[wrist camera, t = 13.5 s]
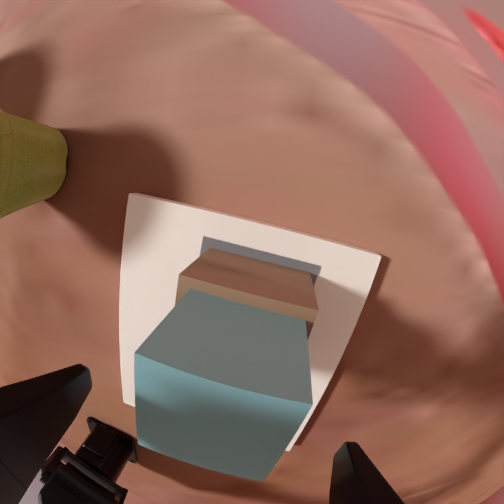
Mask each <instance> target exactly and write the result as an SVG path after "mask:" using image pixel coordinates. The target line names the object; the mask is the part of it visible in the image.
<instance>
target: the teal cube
mask: <svg viewBox="0 0 504 504" xmlns="http://www.w3.org/2000/svg"><path fill="white" fill-rule="evenodd" d="M134 386H135V411H136V426H137V438H138V444H139V445H141V446H143V447H146V448H148V449H150V450H153V451H155V452H158V453H160V454H163V455H166V456H168V457H171V458H174V459H177V460H180V461H183V462H186V463H189V464H192V465H195V466H199V467H202V468H205V469H209V470H213V471H216V472H220V473H224V474H228V475H233V476H237V477H242V478H247V479H252V480H257V481H264V480H265V478H266V477H267V476H268V474H269V473H270V471H271V470H272V469H273V467H274V466H275V464H276V463H277V461H278V460H279V459H280V457H281V456H282V454H283V453H284V451H285V450H286V448H287V446H288V445H289V443H290V442H291V440H292V439H293V437H294V435H295V434H296V432H297V431H298V429H299V427H300V426H301V424H302V422H303V421H304V419H305V417H306V416H307V414H308V412H309V410H310V409H311V407H312V405H313V399H312V385H311V373H310V361H309V350H308V340H307V330H306V321H305V320H302V319H298V318H294V317H290V316H287V315H283V314H279V313H275V312H271V311H267V310H264V309H260V308H256V307H253V306H249V305H245V304H242V303H238V302H235V301H231V300H228V299H224V298H221V297H217V296H214V295H211V294H207V293H204V292H201V291H197V290H194V289H191V288H190V290H189V291H188V292H187V293H186V294H185V295H184V296H183V297H182V299H181V300H180V301H179V302H178V303H177V304H176V305H175V307H174V308H173V309H172V310H171V311H170V312H169V313H168V314H167V316H166V317H165V318H164V319H163V320H162V321H161V322H160V324H159V325H158V326H157V327H156V328H155V329H154V330H153V332H152V333H151V334H150V335H149V336H148V337H147V339H146V340H145V341H144V342H143V343H142V344H141V345H140V347H139V348H138V349H137V350H136V351H135V352H134Z"/></svg>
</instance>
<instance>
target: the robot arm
mask: <svg viewBox="0 0 504 504" xmlns="http://www.w3.org/2000/svg"><path fill="white" fill-rule="evenodd" d="M91 388H92V380H91V374H90V370H89V368H88V367H86V366H84V365H82V364H76V365H73V366H70V367H67V368H64V369H61V370H58V371H54V372H51V373H48V374H45V375H41V376H38V377H35V378H31V379H28V380H24V381H21V382H17V383H14V384H10V385H7V386H3V387H1V388H0V504H19V502H20V500H21V499H22V497H23V496H24V494H25V492H26V491H27V489H28V487H29V486H30V484H31V483H32V481H33V479H34V478H35V476H36V475H37V473H38V472H39V470H40V469H41V472H42V474H41V476H42V477H41V479H40V481H41V482H42V483H43V484H45V485H44V486H43V488H42V489H41V491H40V493H39V495H38V499H39V504H123V503H124V500H125V497H126V495H127V492H128V490H127V489H125V488H122V487H121V486H119V485H117V484H116V481H117V479H118V477H119V475H120V474H121V472H122V470H123V468H124V467H125V465H126V463H127V461H130V462H132V463H136V462H137V457H136V451H135V444H134V440H133V439H132V438H131V437H129V436H127V435H124V434H122V433H120V432H118V431H116V430H114V429H112V428H110V427H108V426H106V425H104V424H102V423H100V422H98V421H96V420H95V419H93V418H91V417H88V418H87V422H88V426H89V429H90V432H91V433H90V434H89V435H88V437H87V438H86V439H85V441H84V442H83V443H82V445H81V446H80V447H79V449H78V450H77V452H76V453H75V454H73V453H72V452H71V451H69V449H68V448H67V447H64V448H62V447H60V446H58V447H57V449H56V450H55V451H54V452H53V454H52V455H51V456H50V457H49V455H50V454H51V452H52V451H53V449H54V448H55V447H56V445H57V444H58V442H59V441H60V439H61V438H62V436H63V435H64V434H65V432H66V431H67V429H68V428H69V426H70V425H71V424H72V422H73V421H74V419H75V418H76V416H77V414H78V412H79V410H80V408H81V407H82V405H83V403H84V401H85V399H86V398H87V396H88V394H89V392H90V390H91ZM48 457H49V458H48ZM47 458H48V459H47ZM62 460H63V461H64V462H65V463H66V465H65V464H63V463H62V462H61V461H62ZM329 504H404V502H403V501H402V500H401V499H400V497H399V496H398V495H397V494H396V492H395V491H394V490H393V489H392V487H391V486H390V485H389V483H388V482H387V481H386V480H385V478H384V477H383V476H382V475H381V473H380V472H379V471H378V469H377V468H376V467H375V465H374V464H373V463H372V462H371V460H370V459H369V458H368V456H367V455H366V454H365V452H364V451H363V450H362V448H361V447H360V446H359V445H358V443H356V442H345V443H343V445H342V446H341V447H340V448H339V450H338V451H337V452H336V453H335V455H334V458H333V467H332V476H331V485H330V494H329Z"/></svg>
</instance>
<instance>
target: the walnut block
mask: <svg viewBox="0 0 504 504" xmlns="http://www.w3.org/2000/svg"><path fill="white" fill-rule="evenodd" d="M190 288H191V289H194V290H197V291H201V292H204V293H207V294H211V295H214V296H217V297H221V298H224V299H228V300H231V301H235V302H238V303H242V304H245V305H249V306H253V307H256V308H260V309H264V310H267V311H271V312H275V313H279V314H283V315H287V316H290V317H294V318H298V319H302V320H305V321H306V330H307V340H308V338H309V336H310V333H311V330H312V328H313V325H314V322H315V319H316V316H317V314H318V311H319V309H318V305H317V300H316V296H315V291H314V287H313V283H312V279H311V274H310V272H306V271H302V270H298V269H294V268H290V267H286V266H282V265H278V264H274V263H270V262H266V261H262V260H258V259H254V258H250V257H246V256H242V255H238V254H234V253H230V252H226V251H222V250H218V249H214V248H209V249H208V250H206V251H205V252H204V253H203V254H202V255H201V256H199V257H198V258H197V259H196V260H195V261H194V262H193V263H191V264H190V265H189V266H188V267H187V268H186V269H184V270H183V271H182V272H181V273H180V274H179V277H178V285H177V292H176V301H175V305H176V304H177V303H178V302H179V301H180V300H181V299H182V297H183V296H184V295H185V294H186V293H187V292H188V291H189V290H190Z"/></svg>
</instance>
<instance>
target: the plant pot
mask: <svg viewBox="0 0 504 504" xmlns="http://www.w3.org/2000/svg"><path fill="white" fill-rule="evenodd" d="M67 154H68V148H67V143H66V140H65V138H64V136H63V134H62V133H61V132H60V131H59V130H58V129H56V128H53V127H50V126H47V125H43V124H40V123H37V122H34V121H31V120H28V119H25V118H22V117H19V116H15V115H12V114H9V113H6V112H5V111H4V110H3V109H1V108H0V218H2V217H4V216H6V215H9V214H11V213H13V212H15V211H18V210H20V209H22V208H25V207H27V206H30V205H32V204H35V203H38V202H40V201H43V200H46V199H48V198H50V197H52V196H53V195H55V194H56V193H57V191H58V190H59V189H60V187H61V185H62V183H63V181H64V178H65V175H66V158H67Z"/></svg>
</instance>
